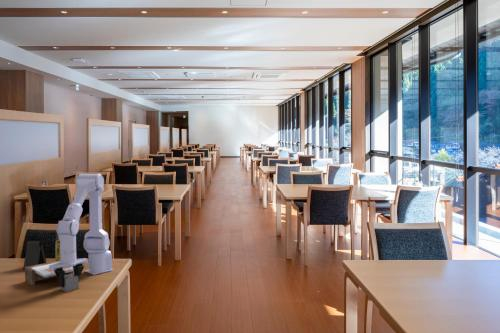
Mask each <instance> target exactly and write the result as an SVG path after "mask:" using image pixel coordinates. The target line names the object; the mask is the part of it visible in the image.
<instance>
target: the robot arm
mask: <svg viewBox="0 0 500 333" xmlns="http://www.w3.org/2000/svg"><path fill="white" fill-rule="evenodd" d="M75 185H76V191H75V194H74V198H73V201H72V203H70V204H68V206H67V208H66V210H65V214H64V216H63V218H62V219H61V220H59V221H60V222H59V223H58V222H57V225H56V230H55V231H56V234H58V238H59V240H60V253H61V262H59V263H56V264H53V265H49V270H50V271H54V272H55V274H56V276H55V277H56V278H57V280H58V283H59V286H60V287H62V288H63V287H64V276H65V275H66V274H65V271H64V270H63V269H62V268H67V267H72V266H73V274H74V275H77V276H78V284H79V282H80V277H81V274H82V272H83V270H84V268H85V266H84V265H87V264H88V269H86V270H84V271H85V272H86V273H88V274H90V275H93V276H94V275H98V274H104V273H108V272H113V271H114V269H113V257H112V256H113V255H112V253H111V251H110V250H109V247H110V245H111V243H110V242H111V241H110V239H109V233H108V232H107V231H106V230H104V229H103V223H102V222H103V220H102V219H103V215H102V214H103V213H102V212H103V209H102V193H103V192H104V191H105V179H104V176H103V175H102V174H101V173H81V172H79V174H78V175H77V176H76V180H75ZM88 195H89V196H88ZM87 196H88V197H89V199H88V201H89V230H88V231H87V232H86V233H85V234H84V240H83V248H84V250H85V251H86V253H88V256H87V257H88V258H86V257H83V258H77V236H76V235H77V234H78V232H79V228H80V218H81V216H82V213H83V210H84V209H83V207H82V206H83V203H84V202H85V200H86V197H87ZM60 287H59V288H60Z"/></svg>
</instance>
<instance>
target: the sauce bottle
mask: <svg viewBox="0 0 500 333" xmlns="http://www.w3.org/2000/svg"><path fill="white" fill-rule="evenodd" d="M60 221H61V220H58V222H57V224H58V223H59V222H60ZM54 246H55V255H54V256H55V258H54V259H55V261H59V260H61V253H60V240H59V238H58V234H57V233H56V234H55V245H54Z"/></svg>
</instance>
